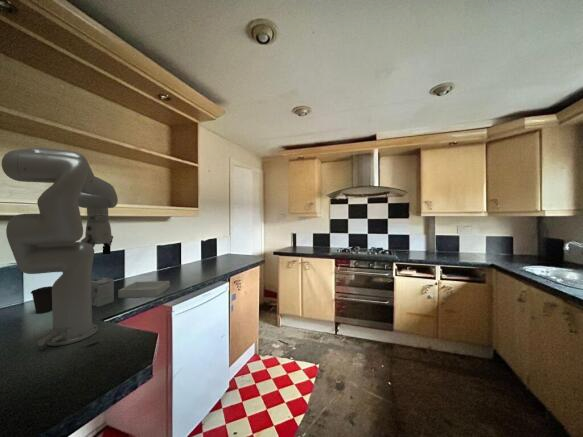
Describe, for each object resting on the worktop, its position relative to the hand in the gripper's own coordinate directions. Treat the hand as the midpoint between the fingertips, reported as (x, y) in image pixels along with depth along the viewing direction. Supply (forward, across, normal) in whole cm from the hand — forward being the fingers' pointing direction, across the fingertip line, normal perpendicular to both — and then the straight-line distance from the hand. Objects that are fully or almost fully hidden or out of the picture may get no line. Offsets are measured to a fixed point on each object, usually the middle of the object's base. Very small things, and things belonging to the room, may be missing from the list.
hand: (98, 256), depth 105 cm
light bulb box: (+22, 0, 0) cm, 22 cm away
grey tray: (+22, +12, -14) cm, 28 cm away
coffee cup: (+22, -8, +16) cm, 28 cm away
